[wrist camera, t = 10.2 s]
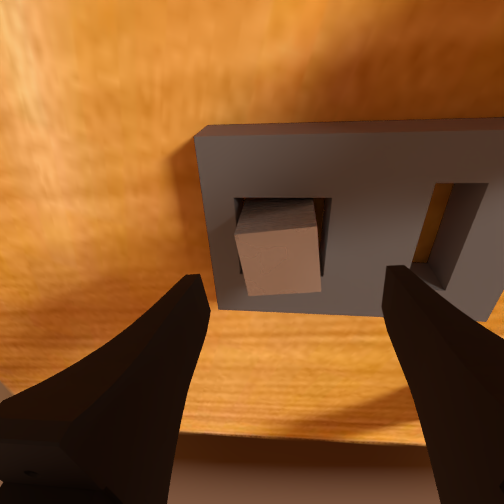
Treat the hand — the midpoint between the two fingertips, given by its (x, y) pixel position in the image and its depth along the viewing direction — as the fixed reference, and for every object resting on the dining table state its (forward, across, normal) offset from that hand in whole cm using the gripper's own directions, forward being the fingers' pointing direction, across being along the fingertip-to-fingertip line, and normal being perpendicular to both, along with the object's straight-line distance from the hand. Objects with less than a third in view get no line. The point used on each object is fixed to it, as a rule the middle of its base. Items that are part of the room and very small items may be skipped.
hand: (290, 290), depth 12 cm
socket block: (+9, -4, +2) cm, 10 cm away
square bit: (+9, +1, +1) cm, 9 cm away
